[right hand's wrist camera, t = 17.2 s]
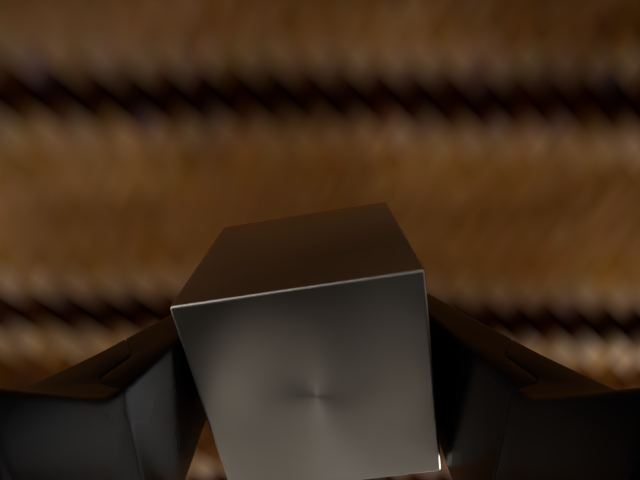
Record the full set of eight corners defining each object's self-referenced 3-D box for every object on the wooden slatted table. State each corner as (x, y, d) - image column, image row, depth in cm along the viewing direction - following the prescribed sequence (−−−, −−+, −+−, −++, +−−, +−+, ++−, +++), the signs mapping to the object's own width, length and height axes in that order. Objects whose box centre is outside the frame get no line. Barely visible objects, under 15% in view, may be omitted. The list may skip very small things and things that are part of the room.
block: (402, 346, 13) (442, 472, 9) (259, 366, 13) (231, 496, 9) (386, 200, 11) (425, 268, 7) (223, 227, 12) (167, 307, 7)
